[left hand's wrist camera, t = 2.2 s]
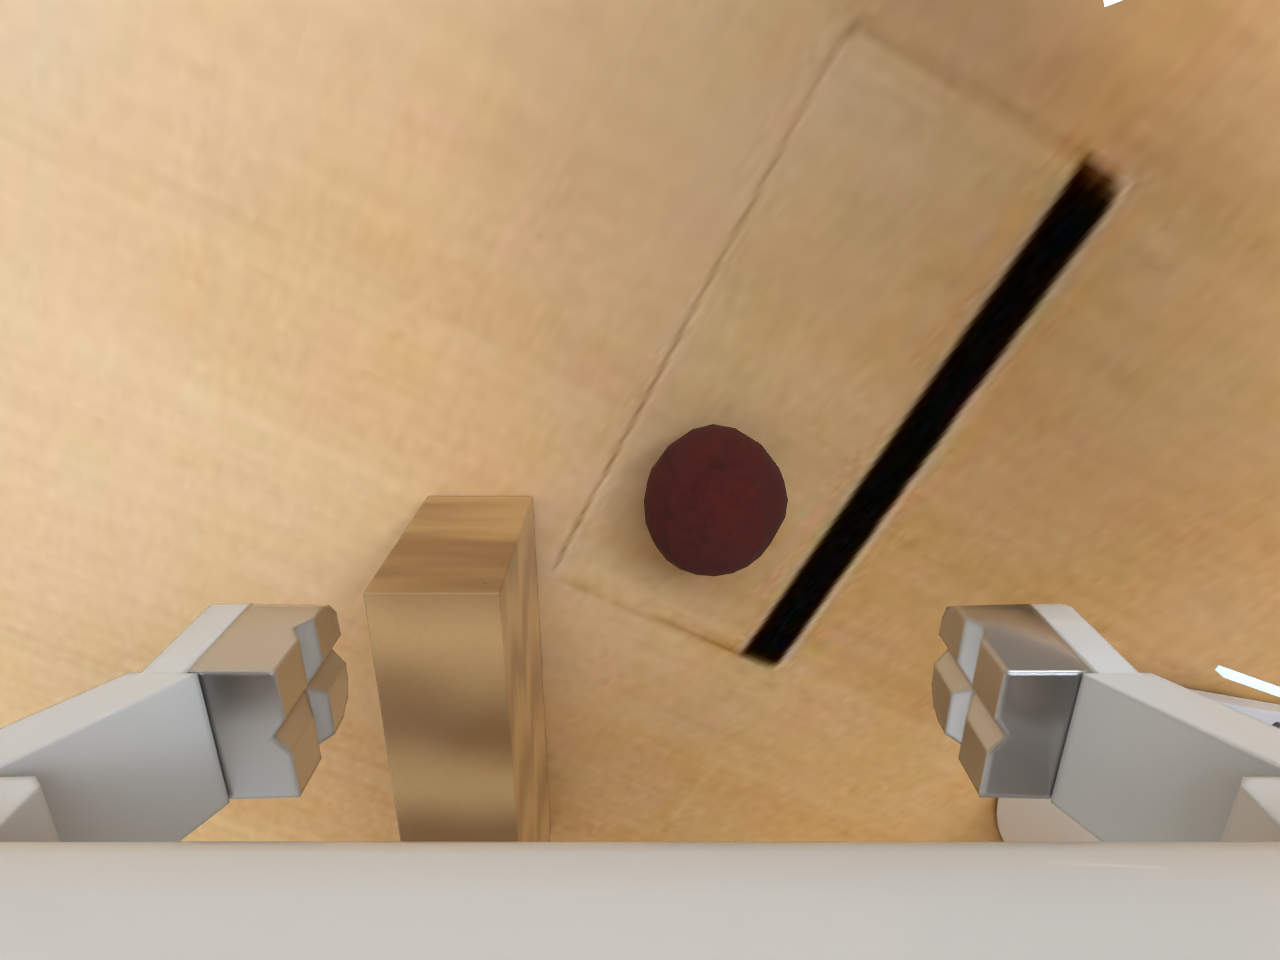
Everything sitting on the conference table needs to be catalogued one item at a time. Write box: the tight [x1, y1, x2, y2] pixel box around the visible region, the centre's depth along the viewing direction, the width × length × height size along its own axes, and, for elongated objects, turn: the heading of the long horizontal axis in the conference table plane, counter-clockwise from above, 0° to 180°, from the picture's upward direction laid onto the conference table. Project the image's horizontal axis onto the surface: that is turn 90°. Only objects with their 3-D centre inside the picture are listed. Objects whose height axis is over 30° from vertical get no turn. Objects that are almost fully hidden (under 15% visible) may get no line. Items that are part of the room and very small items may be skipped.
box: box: [364, 496, 551, 842], centre depth 43 cm, size 25×6×11 cm, turn 0°
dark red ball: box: [644, 424, 788, 576], centre depth 40 cm, size 7×8×7 cm
